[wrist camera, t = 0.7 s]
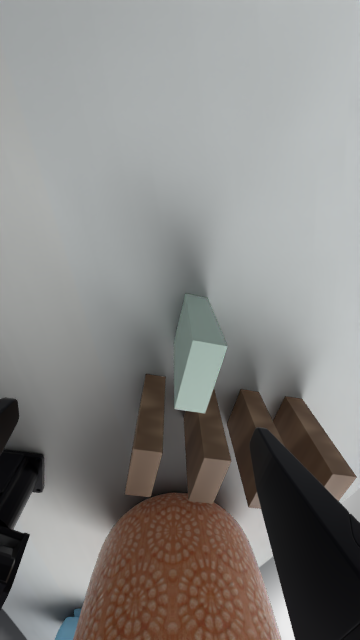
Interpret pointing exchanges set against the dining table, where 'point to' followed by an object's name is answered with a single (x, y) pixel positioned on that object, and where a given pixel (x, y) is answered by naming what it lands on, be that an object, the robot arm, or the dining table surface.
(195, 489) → the domino
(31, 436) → the dining table surface
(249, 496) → the domino
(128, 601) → the planter
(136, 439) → the domino
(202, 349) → the domino
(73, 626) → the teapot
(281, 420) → the domino
